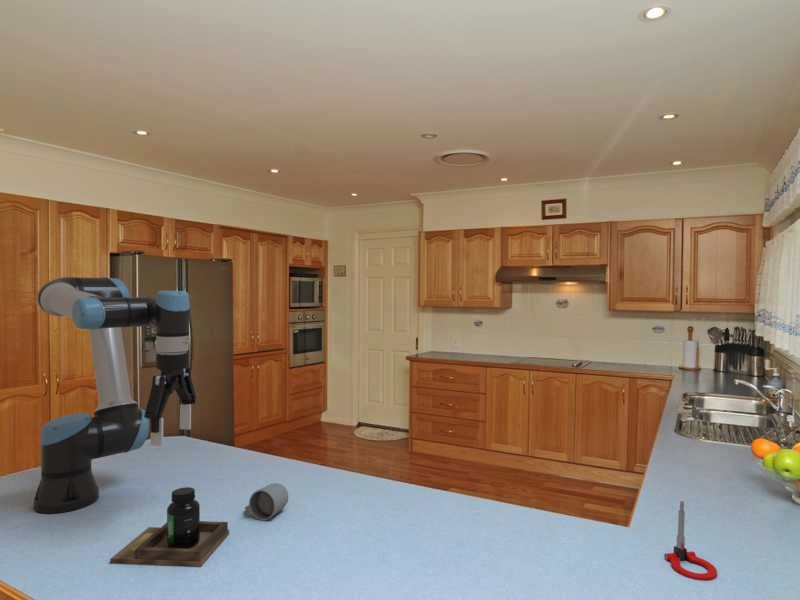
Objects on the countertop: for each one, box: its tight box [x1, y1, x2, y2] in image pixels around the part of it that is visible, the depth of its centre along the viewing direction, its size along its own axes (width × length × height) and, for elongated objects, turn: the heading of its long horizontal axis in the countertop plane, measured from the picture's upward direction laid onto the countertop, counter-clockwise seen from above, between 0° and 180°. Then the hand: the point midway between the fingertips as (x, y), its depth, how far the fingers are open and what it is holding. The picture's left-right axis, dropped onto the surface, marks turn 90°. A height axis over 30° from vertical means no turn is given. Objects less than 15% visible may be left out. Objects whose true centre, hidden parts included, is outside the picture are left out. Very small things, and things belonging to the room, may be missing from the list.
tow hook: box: [663, 500, 718, 582], centre depth 109 cm, size 8×13×9 cm
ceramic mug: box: [244, 482, 289, 521], centre depth 137 cm, size 11×8×8 cm
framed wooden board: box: [109, 520, 230, 568], centre depth 118 cm, size 20×15×3 cm
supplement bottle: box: [166, 486, 201, 549], centre depth 118 cm, size 7×7×12 cm
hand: (171, 436), depth 131 cm, fingers open, 13 cm apart
